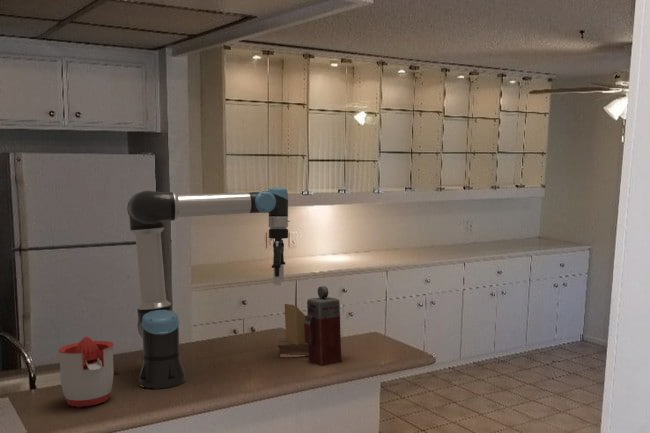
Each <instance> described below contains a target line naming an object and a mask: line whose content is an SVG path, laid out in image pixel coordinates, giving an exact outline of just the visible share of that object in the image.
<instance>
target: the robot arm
mask: <svg viewBox="0 0 650 433" xmlns="http://www.w3.org/2000/svg"><path fill="white" fill-rule="evenodd" d="M126 209H127V214H128V216H129V218H128V219H129V228H130V232H131V233H132V234H134V235H135V244H136V245H135V246H136V256H137V258H136V259H137V267H138V268H137V270H138V281H139V290H140V304H139V305H138V306H137V310H136V311H137V324H136V325H137V327H136V328H137V331H138V334H139V336H140V337H141V338H142V346H143V347H142V349H143V350H142V351H143V353H142V355H143V362H142V366H141V370H140V372H139V376H138V384H139V383H140V385H142V386H144V387H147V388H146V389H148V388H153V389H155V390H156V389H166V388H167V389H168V388H173V387H177V386H179V385H182V384H183V383H185V382H186V371H185V369H184V366H183V363H182V361H181V358H180V338H179V337H180V334H179V333H180V332H179V329H180V328H179V325H180V320H179V317H178V314H177V313H176V312H175V311H174V310H172V304H171V302H170V301H168V300H167V294H166V284H165V283H166V282H165V270H164V259H163V248H162V245H163V244H162V234H161V233H162V232H163V231H164V229H165V222H169V221H176V220H177V219H178V218H186V217H187V218H188V217H204V216H205V217H206V216H222V215H223V216H225V215H241V214H242V215H246V214H267V213H268V228H269V229H268V238H269V239H274V241H273V244H272V247H273V248H272V249H273V251H272V252H273V257H272V258H273V260H272V261H273V262H272V265H271V269H273V286H282V282H284V280H285V276H284V274H285V272H284V267H285V266H284V265H286V261H285V259H284V257H285V256H284V249H285V243H284V239H288V238H289V229H288V227H289V222H290V221H291V220H290V219H289V193H288V190H287V188H285V187H271V188H268V191H267V190H265V191H263V190H262V191H252V192H251V191H249V192H248V191H247V192H246V191H245V192H224V193H223V192H222V193H196V194H195V193H194V194H176V193H175V192H174V191H173V192H172V191H171V192H169V191H168V192H167V191H166V192H165V191H154V190H143V191H139V192H137V193H135V194H134V195H132V196H131V198H130V199H129V201H128V203H127V208H126ZM153 389H152V390H153Z"/></svg>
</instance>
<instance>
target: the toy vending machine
mask: <svg viewBox="0 0 650 433" xmlns="http://www.w3.org/2000/svg"><path fill="white" fill-rule="evenodd" d="M317 296H318V297H311V298H308V299H307V301H306V307H307V308H306V309H307V310H306V311H307V315H306V314H305V316H306V318H305V322H304V330H305V343H307V344H308V346H309V357H308V362H309V361H310V363H312V364H315V365H318V366H319V367H325V366H330V365H334V364H340V363H342V338H341V337H342V335H341V333H342V332H341V304H340V303H341V302H340V299H339V298H335V297H332V296H331V297H330V296H329V289H328V287H327V286H326V285H323V286H318V288H317Z"/></svg>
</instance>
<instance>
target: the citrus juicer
mask: <svg viewBox="0 0 650 433" xmlns="http://www.w3.org/2000/svg"><path fill="white" fill-rule="evenodd" d="M57 351H58V352H59V373H60V385H61V389H62V393H63V396H64V399H65V401H66V403H67V405H68V404H69V405H68V406H70V405H71V407H74V406H75V407H76V408H77V407H81V408H83V406H84V407H89V406H90V407H92V406H96V405H99V404H103V403H102V402H104V403H106V402H107V401H108V400H109V398H110V395H111V392H112V388H113V385H114V384H113V382H114V343H113V341H112V342H111V341H105V340H93V339H91V338H90V337H89V336H84V337H83V338H82V339H81V340H80V341H79V342H74V343H71V344H67V345H63V346H60V347H59V349H58V350H57Z"/></svg>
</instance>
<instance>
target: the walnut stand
mask: <svg viewBox="0 0 650 433" xmlns="http://www.w3.org/2000/svg"><path fill="white" fill-rule="evenodd" d="M277 348H279V349H278V350H279V351H278V352H279V353H278V354H287V355H288V354H289V355H305V356H309V346H308V344H307V343H305V344H299V345H296V344H292V343H289V342H286V337H285V338H279V341H278V344H277Z"/></svg>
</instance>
